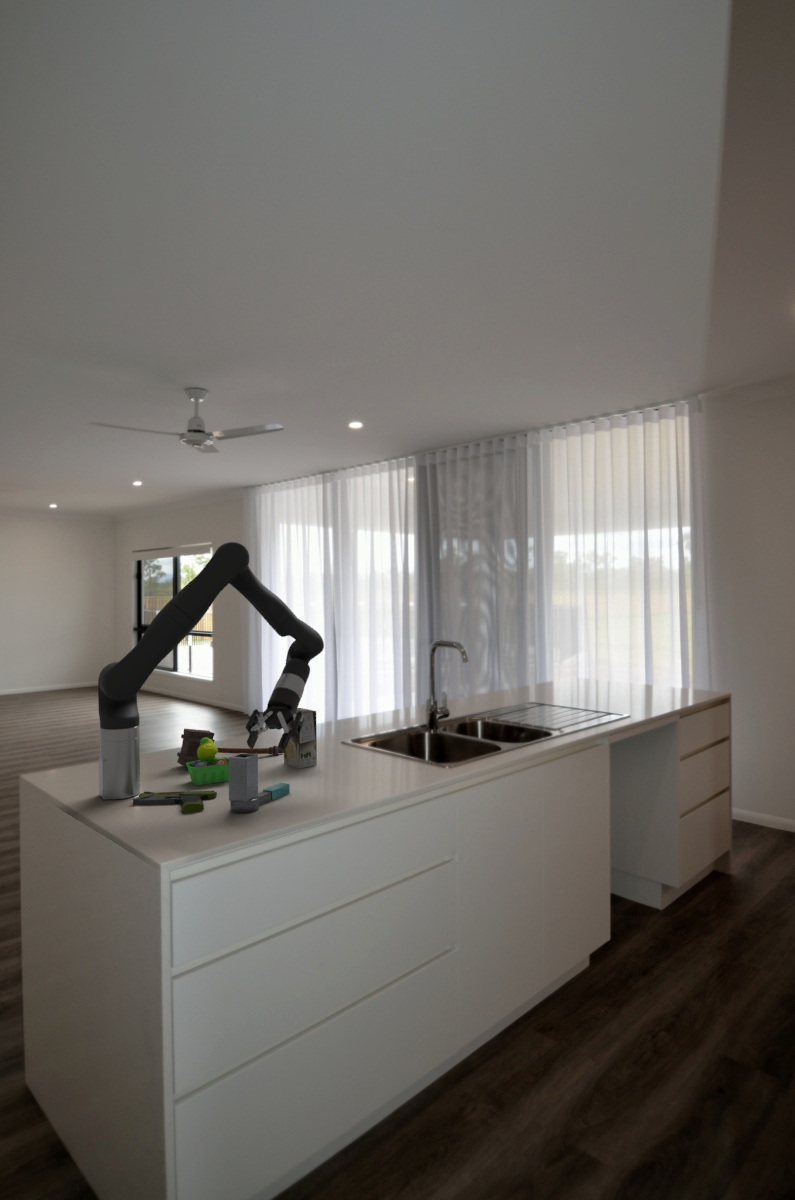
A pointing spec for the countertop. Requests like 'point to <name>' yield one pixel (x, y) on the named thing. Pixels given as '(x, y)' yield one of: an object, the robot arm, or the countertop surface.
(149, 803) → the gun
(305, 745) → the coffee box
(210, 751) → the fruit basket
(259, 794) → the ratchet
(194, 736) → the hammer
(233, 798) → the grey hollow square tube
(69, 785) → the countertop surface
